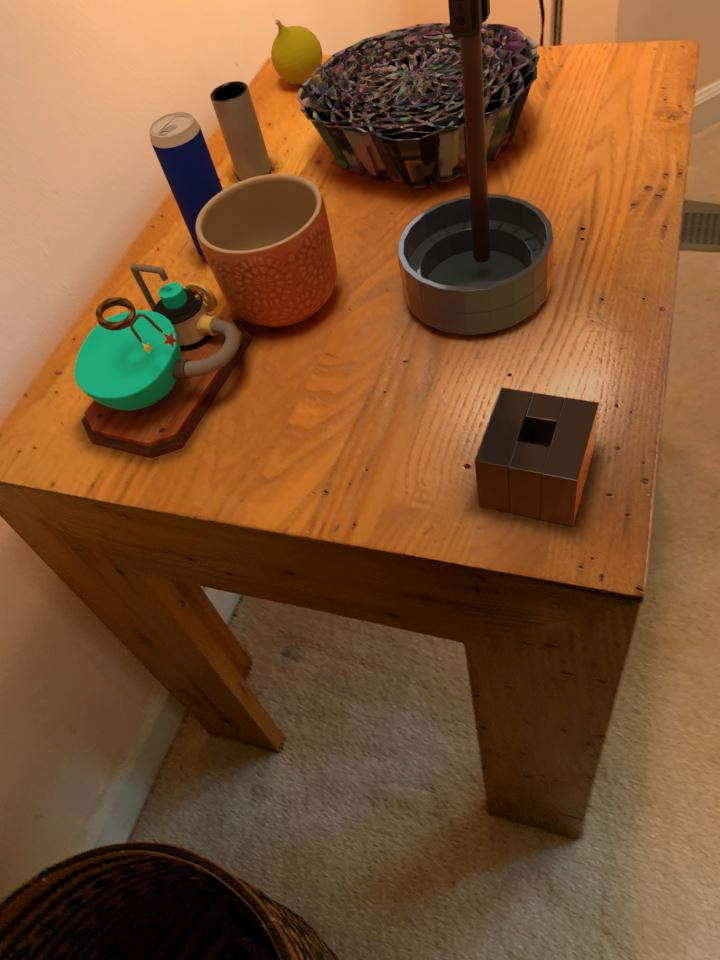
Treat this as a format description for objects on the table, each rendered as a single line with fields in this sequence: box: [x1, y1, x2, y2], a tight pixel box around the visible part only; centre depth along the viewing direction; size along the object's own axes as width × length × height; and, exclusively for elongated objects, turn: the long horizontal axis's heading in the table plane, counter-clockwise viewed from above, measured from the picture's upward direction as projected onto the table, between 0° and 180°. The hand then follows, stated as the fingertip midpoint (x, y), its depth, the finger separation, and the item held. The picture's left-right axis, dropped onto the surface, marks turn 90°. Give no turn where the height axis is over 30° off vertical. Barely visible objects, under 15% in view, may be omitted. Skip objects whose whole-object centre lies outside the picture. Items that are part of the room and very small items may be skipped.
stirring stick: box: [460, 30, 490, 263], centre depth 62 cm, size 2×2×26 cm
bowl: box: [397, 193, 554, 336], centre depth 71 cm, size 14×14×6 cm
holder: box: [474, 387, 600, 527], centre depth 57 cm, size 7×7×6 cm
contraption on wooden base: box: [73, 263, 252, 458], centre depth 68 cm, size 14×18×15 cm
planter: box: [195, 173, 338, 328], centre depth 74 cm, size 12×12×11 cm
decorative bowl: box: [296, 22, 541, 189], centre depth 88 cm, size 26×28×10 cm
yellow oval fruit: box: [270, 14, 323, 86], centre depth 102 cm, size 7×7×10 cm
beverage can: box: [149, 111, 224, 260], centre depth 80 cm, size 5×5×15 cm
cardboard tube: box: [209, 80, 272, 181], centre depth 90 cm, size 4×4×10 cm
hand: (470, 26), depth 55 cm, fingers closed on stirring stick, 1 cm apart
